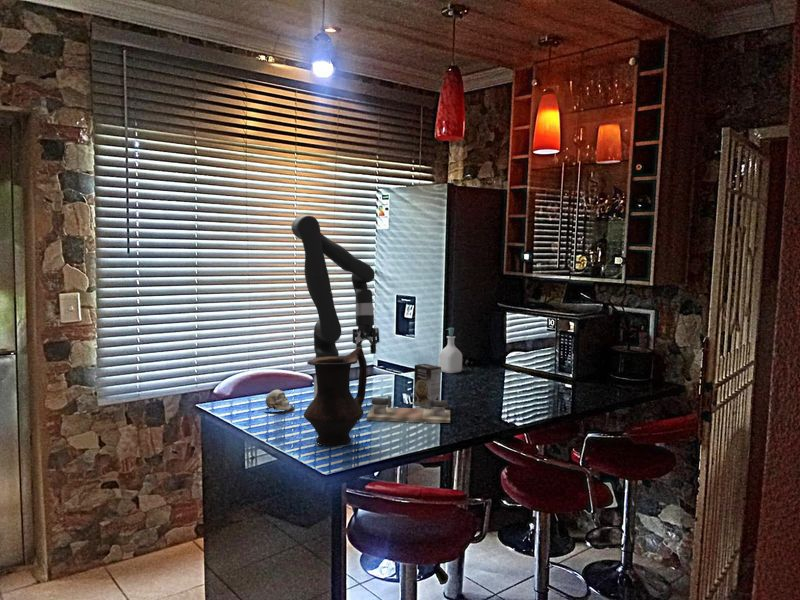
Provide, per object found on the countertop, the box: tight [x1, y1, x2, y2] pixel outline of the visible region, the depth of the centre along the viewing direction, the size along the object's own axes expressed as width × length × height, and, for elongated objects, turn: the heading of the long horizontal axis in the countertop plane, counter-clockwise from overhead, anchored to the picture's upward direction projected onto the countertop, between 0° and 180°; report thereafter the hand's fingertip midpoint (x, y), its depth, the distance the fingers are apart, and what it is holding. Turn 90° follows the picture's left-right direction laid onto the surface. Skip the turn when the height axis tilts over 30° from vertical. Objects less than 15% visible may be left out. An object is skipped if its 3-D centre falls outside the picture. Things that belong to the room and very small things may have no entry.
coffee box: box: [413, 363, 442, 409], centre depth 245 cm, size 9×6×16 cm
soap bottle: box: [438, 327, 463, 374], centre depth 316 cm, size 10×10×23 cm
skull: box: [265, 389, 295, 412], centre depth 235 cm, size 12×10×10 cm
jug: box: [303, 347, 368, 447], centre depth 195 cm, size 21×18×30 cm
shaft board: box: [366, 395, 451, 424], centre depth 228 cm, size 30×14×8 cm, turn 85°
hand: (366, 353), depth 254 cm, fingers open, 8 cm apart
